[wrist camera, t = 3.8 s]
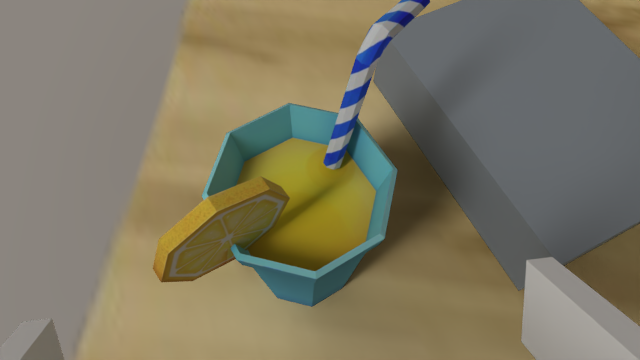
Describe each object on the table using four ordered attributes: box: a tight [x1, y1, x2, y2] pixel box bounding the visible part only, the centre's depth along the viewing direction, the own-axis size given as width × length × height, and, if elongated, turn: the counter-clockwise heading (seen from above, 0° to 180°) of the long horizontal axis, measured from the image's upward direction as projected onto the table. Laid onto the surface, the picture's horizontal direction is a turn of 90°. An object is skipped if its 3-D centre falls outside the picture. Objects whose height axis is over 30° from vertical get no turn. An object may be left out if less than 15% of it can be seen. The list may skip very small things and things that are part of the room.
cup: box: [153, 0, 430, 306], centre depth 21 cm, size 14×8×15 cm, turn 144°
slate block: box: [374, 0, 640, 290], centre depth 30 cm, size 13×17×5 cm
